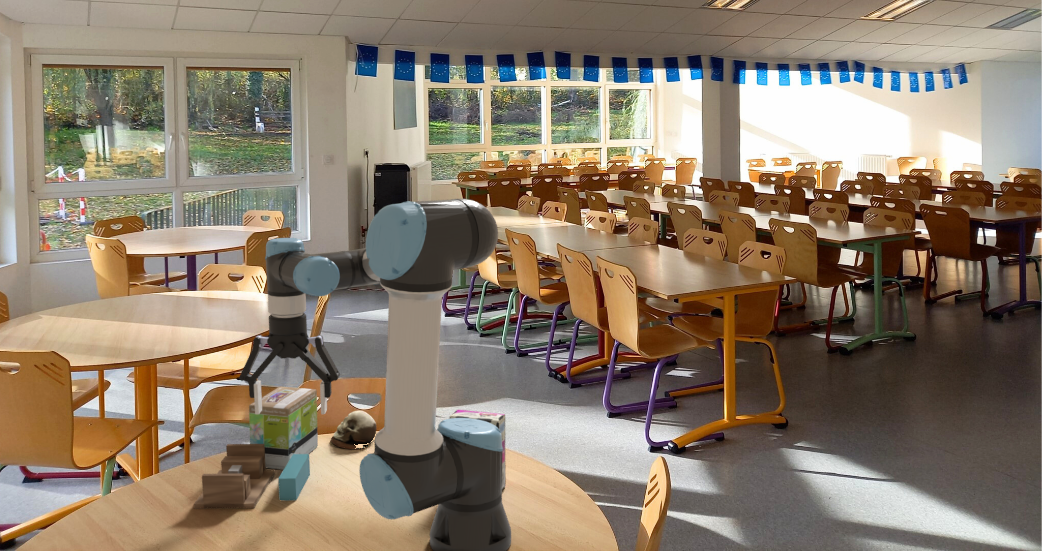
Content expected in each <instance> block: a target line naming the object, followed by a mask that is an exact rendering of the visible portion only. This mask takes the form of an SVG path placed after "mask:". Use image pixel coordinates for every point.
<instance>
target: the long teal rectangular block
mask: <svg viewBox="0 0 1042 551" xmlns="http://www.w3.org/2000/svg"><path fill="white" fill-rule="evenodd" d="M310 465H311V464H310V453H309V454H293V455H292V457H291V459H290V460H289V462H288V464H287V465H286V467H285V468H284V470H282V471H281V473H280V475H279V476H278V481H277V482H278V500H281V501H283V502H284V501H286V502H287V501H297V500H298V498H299V496H300V494H301V492H302V491H303V489H304V486H306V483H307V482H308V479H309V478H310V476H311V469H310V468H311V467H310Z"/></svg>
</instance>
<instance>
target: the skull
mask: <svg viewBox="0 0 1042 551" xmlns="http://www.w3.org/2000/svg"><path fill="white" fill-rule="evenodd" d="M377 428H378V427H377V423H376V421H375V419H374V418H373V416H371V415H370V414H369V413H367V412H366V411H364V410H354V411H352V412H350V413H348V415H347V416H345V417H344V419H343V421H341V423H340V424H339V425H338V426H337V428H336V431H335V432H334V433H333V436H332V437H331V438H330V442H331V443H332V444H333V445H334V446H335V447H338V448H341V449H342V448H343V449H347V450H348V449H349V450H358V449H357V448H356V446H355V445H358V444H367V443H370V442H371V441H372V440H373V438H374V437H375V434H377ZM371 443H372V442H371ZM371 443H370V444H371ZM354 444H355V445H354ZM355 448H356V449H355Z"/></svg>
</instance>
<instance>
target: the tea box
mask: <svg viewBox="0 0 1042 551" xmlns="http://www.w3.org/2000/svg"><path fill="white" fill-rule="evenodd" d="M317 395H318V394H317V389H314V388H304V387H303V388H302V387H301V388H300V387H290V386H278V387H277V388H275V389H274V390H272V391H270V392H268V393H267V394H265V395H264V396H262V411H261V412H260V414H255V401H254V402H252V403H251V404H249V405H248V408H249V410H248V416H249V418H248V419H249V420H248V421H249V444H264V446H265V466H266V469H271V470H282V471H283V470H284V468H285V467H286V465H287V464H288V462H289V460H290V459H291V457H292V455H293V454H309V455H310V453H312V451H314V450H315V449H316V448H317V447H318V446H319V445H318V441H319V440H318V439H319V438H318V437H319V436H318V433H319V432H318V396H317Z"/></svg>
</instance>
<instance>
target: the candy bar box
mask: <svg viewBox="0 0 1042 551" xmlns="http://www.w3.org/2000/svg"><path fill="white" fill-rule="evenodd" d="M451 418H471V419H478V420H482V421H486V422H489V423H491V424H493V425H495V426H496V427H497V428H498V429H499V430H500V432H501V436H502V447H503V451H502V491H503V490H504V489H505V488H506V483H507V481H506V480H507V478H506V474H507V472H506V470H507V469H506V414H505V413H496V412H487V411H475V410H465V409H456V410H455V411H454V412H453V413H452V414H450V415H449V419H451Z"/></svg>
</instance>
